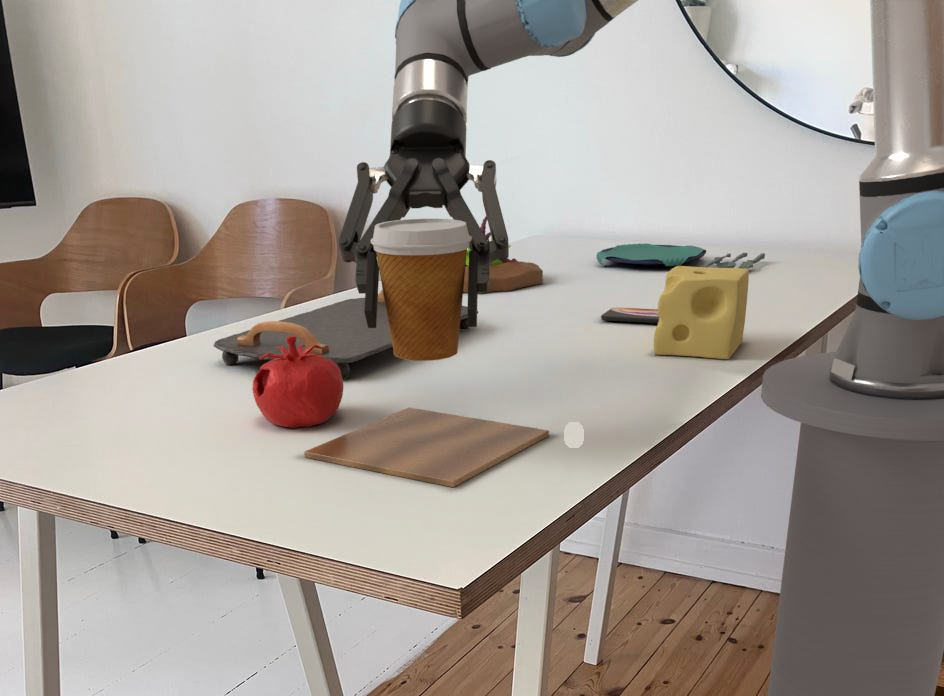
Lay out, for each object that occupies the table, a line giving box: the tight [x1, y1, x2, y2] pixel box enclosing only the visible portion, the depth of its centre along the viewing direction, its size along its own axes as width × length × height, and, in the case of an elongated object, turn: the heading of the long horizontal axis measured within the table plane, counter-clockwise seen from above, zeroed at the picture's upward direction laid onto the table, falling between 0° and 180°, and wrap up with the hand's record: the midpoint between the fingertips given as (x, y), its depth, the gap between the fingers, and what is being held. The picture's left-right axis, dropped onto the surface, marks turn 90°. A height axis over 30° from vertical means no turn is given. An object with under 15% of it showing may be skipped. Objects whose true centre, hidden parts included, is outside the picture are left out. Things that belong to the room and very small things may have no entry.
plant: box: [463, 215, 544, 294], centre depth 192 cm, size 20×20×11 cm
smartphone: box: [600, 307, 659, 324], centre depth 163 cm, size 8×1×15 cm
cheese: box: [653, 265, 750, 360], centre depth 144 cm, size 10×11×10 cm
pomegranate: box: [252, 335, 344, 429], centre depth 120 cm, size 10×10×9 cm
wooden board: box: [303, 407, 550, 488], centre depth 112 cm, size 18×18×1 cm
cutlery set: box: [596, 243, 766, 269], centre depth 205 cm, size 20×30×2 cm, turn 60°
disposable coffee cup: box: [370, 218, 472, 362], centre depth 105 cm, size 10×10×12 cm
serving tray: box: [213, 288, 479, 381], centre depth 152 cm, size 39×23×6 cm, turn 150°
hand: (421, 319), depth 103 cm, fingers closed on disposable coffee cup, 9 cm apart
